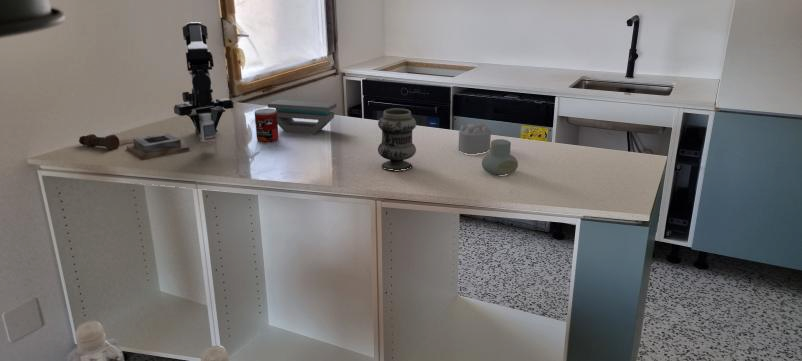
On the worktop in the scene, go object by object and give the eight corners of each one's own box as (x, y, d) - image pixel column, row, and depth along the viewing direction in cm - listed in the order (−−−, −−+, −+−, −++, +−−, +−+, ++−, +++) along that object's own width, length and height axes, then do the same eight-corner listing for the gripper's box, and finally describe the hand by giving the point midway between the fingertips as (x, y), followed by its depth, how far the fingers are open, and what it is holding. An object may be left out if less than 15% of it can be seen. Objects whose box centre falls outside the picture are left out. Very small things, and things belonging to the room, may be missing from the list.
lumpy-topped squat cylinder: (491, 146, 211) (493, 122, 208) (485, 156, 199) (486, 131, 196) (463, 144, 214) (463, 120, 211) (454, 154, 202) (455, 129, 199)
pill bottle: (219, 138, 207) (216, 113, 204) (209, 142, 202) (207, 116, 199) (206, 137, 208) (203, 112, 205) (196, 141, 204) (193, 115, 201)
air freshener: (491, 179, 178) (492, 147, 174) (476, 171, 185) (478, 140, 181) (521, 174, 182) (524, 143, 178) (506, 167, 189) (508, 136, 186)
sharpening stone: (337, 130, 232) (336, 103, 228) (329, 136, 225) (328, 107, 221) (279, 126, 239) (277, 99, 235) (269, 131, 232) (267, 103, 228)
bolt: (85, 149, 215) (117, 152, 210) (74, 146, 211) (106, 149, 205) (89, 134, 216) (121, 136, 211) (78, 130, 211) (110, 132, 206)
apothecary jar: (403, 175, 181) (403, 117, 175) (370, 168, 187) (369, 112, 181) (423, 164, 191) (423, 109, 185) (391, 159, 197) (390, 105, 191)
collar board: (172, 140, 219) (171, 131, 218) (189, 150, 207) (188, 140, 206) (127, 148, 209) (125, 138, 208) (142, 159, 198) (140, 148, 196)
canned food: (252, 142, 217) (250, 112, 213) (265, 136, 224) (263, 107, 220) (270, 144, 214) (268, 114, 211) (282, 138, 221) (280, 109, 218)
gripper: (218, 79, 210) (222, 122, 216) (165, 85, 199) (171, 131, 204) (232, 83, 202) (236, 128, 208) (177, 90, 191) (183, 137, 196)
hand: (206, 131), depth 204 cm, fingers closed on pill bottle, 5 cm apart
